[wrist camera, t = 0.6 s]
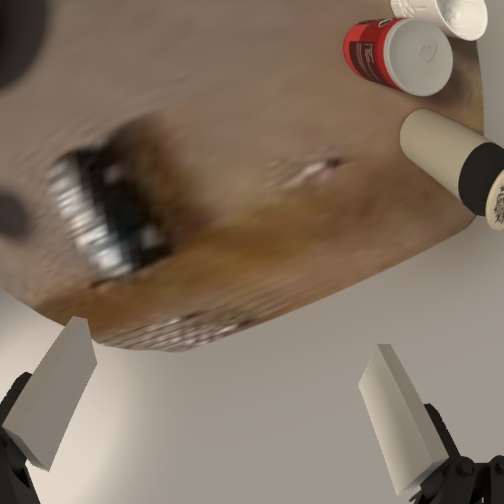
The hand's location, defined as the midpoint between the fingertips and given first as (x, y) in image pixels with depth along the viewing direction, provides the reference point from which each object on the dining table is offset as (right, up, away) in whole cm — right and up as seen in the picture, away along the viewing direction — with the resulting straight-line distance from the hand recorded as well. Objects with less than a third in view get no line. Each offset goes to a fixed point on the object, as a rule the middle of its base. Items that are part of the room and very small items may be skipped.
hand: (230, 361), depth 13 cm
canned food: (+15, +29, +16) cm, 36 cm away
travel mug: (+24, +21, +22) cm, 39 cm away
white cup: (+21, +35, +11) cm, 42 cm away
